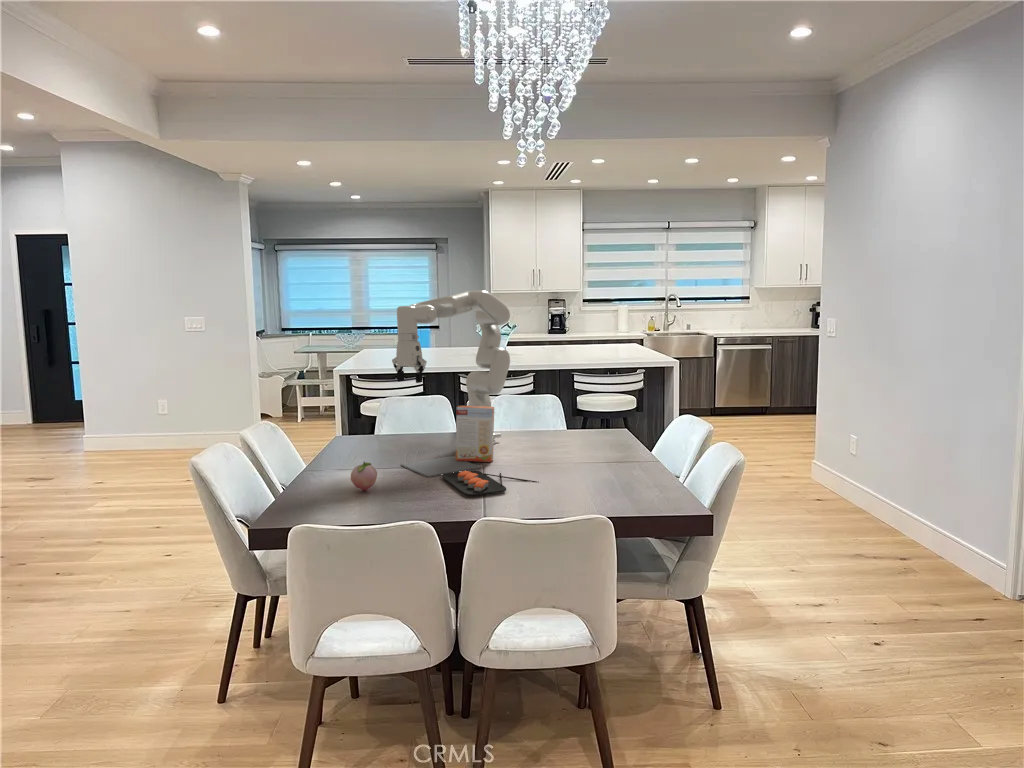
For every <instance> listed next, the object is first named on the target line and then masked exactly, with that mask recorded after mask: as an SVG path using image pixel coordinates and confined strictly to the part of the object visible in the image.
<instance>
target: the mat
mask: <svg viewBox="0 0 1024 768" xmlns="http://www.w3.org/2000/svg"><path fill="white" fill-rule="evenodd" d="M401 465H402V466H404V467H403V468H405V467H406V469H407V468H408V470H409V469H410V470H409V471H412V470H413V471H412V472H414V471H415V472H414V473H416V472H417V473H416V474H418V475H421V474H422V475H421V476H423V475H424V476H423V477H425V476H427V477H426V478H431V477H430V476H434V477H437V476H436V475H439V476H442V475H441V474H447V473H453V472H459V471H465V470H468V471H472V470H471V469H474V470H478V468H480V469H481V468H482V466H480V465H478V464H474V463H472V462H470V461H456V456H452V455H450V456H449V455H448V456H443V457H437V458H432V459H431V458H430V459H425V460H419V461H412V462H406V463H405V462H404V463H400V466H401ZM402 466H401V467H402Z"/></svg>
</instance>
